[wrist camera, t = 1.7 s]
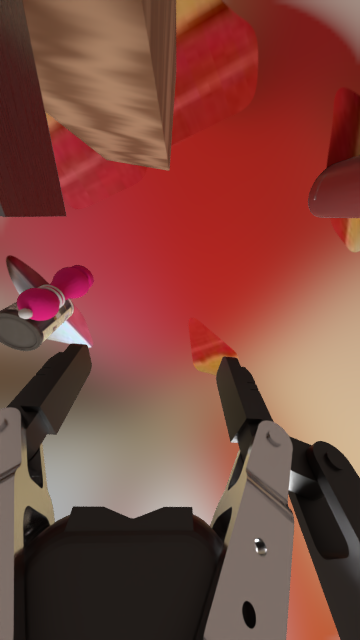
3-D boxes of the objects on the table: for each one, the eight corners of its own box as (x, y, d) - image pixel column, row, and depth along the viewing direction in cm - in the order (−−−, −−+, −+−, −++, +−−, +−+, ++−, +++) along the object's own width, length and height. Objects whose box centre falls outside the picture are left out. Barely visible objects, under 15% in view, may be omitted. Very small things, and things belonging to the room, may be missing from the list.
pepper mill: (62, 263, 42) (-16, 296, 25) (90, 262, 42) (32, 294, 25) (72, 290, 46) (11, 334, 29) (99, 289, 46) (53, 333, 29)
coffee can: (29, 284, 44) (-24, 309, 33) (70, 289, 45) (32, 316, 34) (40, 316, 50) (-2, 348, 38) (76, 321, 51) (46, 353, 39)
